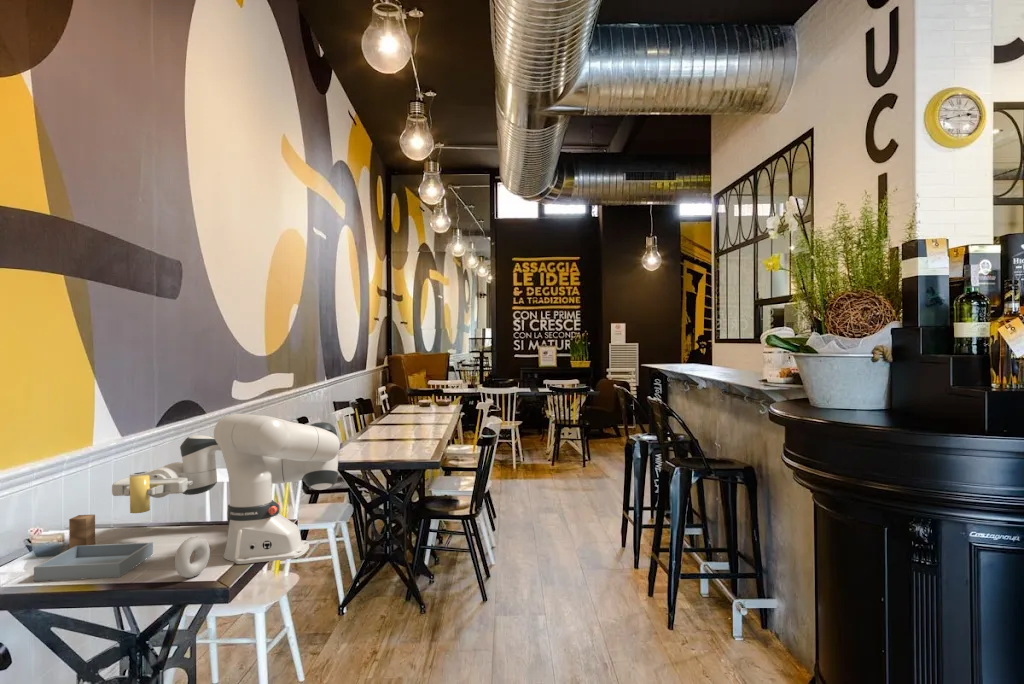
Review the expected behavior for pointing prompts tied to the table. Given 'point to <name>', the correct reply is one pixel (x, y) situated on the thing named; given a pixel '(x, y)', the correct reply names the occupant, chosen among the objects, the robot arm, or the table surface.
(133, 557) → the tray
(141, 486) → the mustard cylinder
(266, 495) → the robot arm
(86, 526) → the walnut block
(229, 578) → the table surface
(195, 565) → the donut
